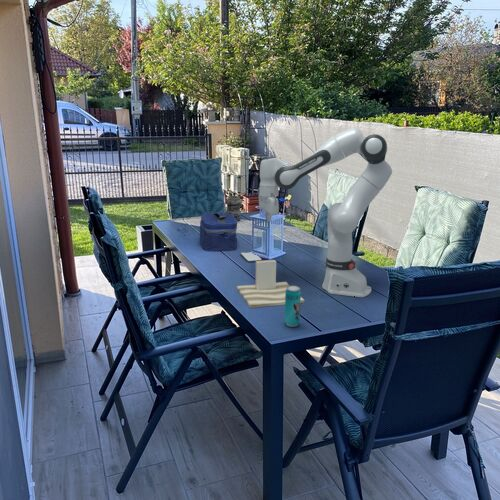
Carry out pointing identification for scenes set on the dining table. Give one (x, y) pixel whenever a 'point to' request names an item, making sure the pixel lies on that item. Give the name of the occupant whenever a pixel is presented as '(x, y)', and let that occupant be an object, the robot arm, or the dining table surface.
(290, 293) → the beverage can
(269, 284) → the tile
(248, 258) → the phone case
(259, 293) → the board
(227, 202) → the apothecary jar
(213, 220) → the lunch bag
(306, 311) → the dining table surface
